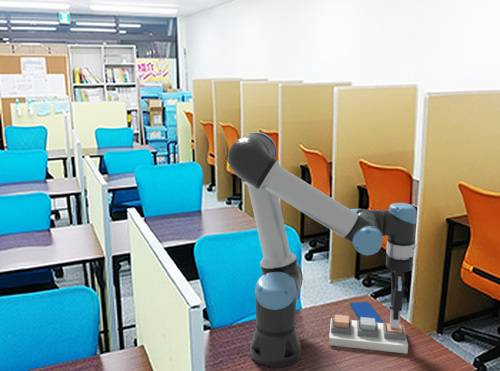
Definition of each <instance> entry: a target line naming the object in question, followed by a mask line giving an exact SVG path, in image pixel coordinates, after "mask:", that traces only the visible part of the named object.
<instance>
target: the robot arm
mask: <svg viewBox="0 0 500 371" xmlns="http://www.w3.org/2000/svg"><path fill="white" fill-rule="evenodd" d="M277 155H278V154H277V146H276V144H275V140H273V139H272V137H270V136H269V135H268V134H265V133H263V132H258V131H257V132H250V133H247V134H245V135H242V137H241V138H238V139H237V140H235V141H234V143H232V144H231V146H230V148H229V150H228V154H227V162H228V165H229V167H230V170H231V171H232V172H233V173H234V174H235V175H236V176H237V177H238V178H239V179H240V181H241V183H243V184H245V185H246V186H247V190H248V193H249V194H248V195H249V198H250V204H251V207H252V212H253V216H254V217H253V218H254V220H255V225H256V230H257V234H258V239H259V243H260V247H261V253H262V256H263V257H262V259H261V261H260V262H259V265H260V269H261V273H262V276H260V277H259V278H258V280H257V281H256V283H255V289H254V294H255V329H254V333H253V336H252V339H251V342H250V346H249V347H250V350H249V353H250V356H251V358H252V359H253V361H255V362H256V363H257V364H259V365H262V366H265V367H269V368H285V367H288V366H291V365H293V364H296V362H297V361H299V359H300V358H301V355H302V354H301V353H302V347H301V341H300V339H299V336H298V333H297V330H296V319H297V318H296V316H297V313H296V312H297V310H296V308H297V304H298V303H297V301H298V299H299V298H298V297H299V295H300V290H301V289H302V285H303V281H304V277H303V276H304V275H303V270H302V267H301V266H300V264H299V263H298V260H297V256H296V254H294V253H293V252H291V250H290V246H289V244H290V243H289V240H288V236H287V231H286V226H285V222H284V217H283V213H282V208H281V204H280V200H282V201H284V202H285V203H286V204H288V205H290V206H291V207H293V208H295V209H296V210H298V211H299V212H301V213H302V214H304V215H306V216H308V217H309V218H310V219H313V220H314V221H316V222H317V223H319V224H321V225H322V226H324V227H326V228H327V229H329V230H330V231H332V232H333V233H335V234H337V235H338V236H340V237H341V238H343V239H345V240H347V242H349V243H351V244H352V245H353V247H354V249H355V250H356V252H357V253H359V254H361V255H363V256H372V255H375V254H377V253H378V252H379V251H380V250H381V248H382V245H383V238H384V237H387V238H386V252H385V253H386V257H385V266H386V268H387V269H388V270H390V277H391V280H390V283H391V284H390V285H391V289H390V290H391V291H390V301H391V302H390V305H391V306H389V310H390V318H389V323H390V328H397V329H399V326H400V324H401V312H402V310H403V301H404V292H405V289H406V286H405V282H406V280H407V277H406V276H407V275H405V274H406V272H410V271H412V269H413V262H414V261H413V260H414V258H413V255H414V250H416V247H417V246H416V245H414V244H415V235H416V224H417V208H416V207H415V206H414V205H413V204H409V203H407V202H395V203H391V204H390V205H389V208H388V209H387V210H382V209H381V210H380V209H364V208H351V209H350V208H349V207H348V206H345V205H343V204H342V203H340V202H338V201H337V200H336V199H334V198H332V197H331V196H329V195H327V194H326V193H325V192H322V191H321V190H320V189H317V188H316V187H315V186H313V185H312V184H309V183H308V182H306V181H305V180H304V179H302V178H300V177H299V176H297V175H295V174H293V173H292V172H291V171H289V170H287V169H285V168H284V167H282V166H281V165H280V162H279V160H278V159H276V157H277Z"/></svg>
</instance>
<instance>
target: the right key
mask: <svg viewBox="0 0 500 371" xmlns="http://www.w3.org/2000/svg"><path fill="white" fill-rule="evenodd" d="M386 323H387V324H386V332H389V333H399V334H403V332H402V326H401V325H400V326H399V329H397V328H390V324H388V323H389V322H386Z"/></svg>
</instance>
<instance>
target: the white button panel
mask: <svg viewBox="0 0 500 371" xmlns="http://www.w3.org/2000/svg"><path fill="white" fill-rule="evenodd" d="M334 320H335V317H331V318H330V324H329V327H330V328H329V337H328V345H329V346H333V347H335V346H336V347H342V348H351V349H353V348H354V349H361V350H362V349H363V350H372V351H380V352H388V353H397V354H398V353H400V354H408V350H409V344H408V340H407V333H406V328H405V325H404V324H401V323H400V325H401V326H402V332H403V334H399V333H389V332H386V324H387V323H388V324H390V322H383V323H377V322H375V325H376V327H375V331H369V330H360V320H359V319H357V320H353V319H350V318H349V328H339V327H334Z"/></svg>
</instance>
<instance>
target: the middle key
mask: <svg viewBox="0 0 500 371" xmlns="http://www.w3.org/2000/svg"><path fill="white" fill-rule="evenodd" d="M375 327H376V325H375V318H365V317H361V318H360V330H369V331H375Z"/></svg>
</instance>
